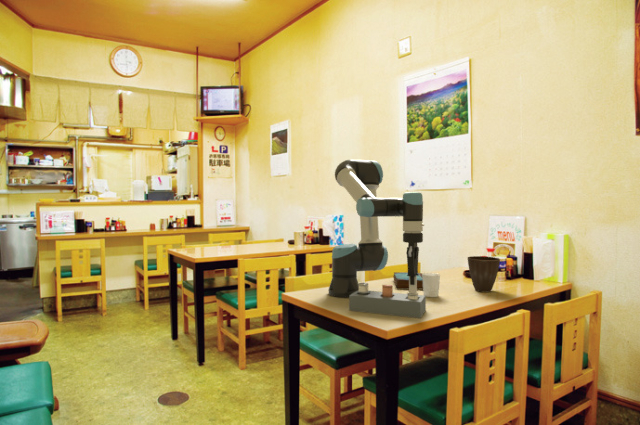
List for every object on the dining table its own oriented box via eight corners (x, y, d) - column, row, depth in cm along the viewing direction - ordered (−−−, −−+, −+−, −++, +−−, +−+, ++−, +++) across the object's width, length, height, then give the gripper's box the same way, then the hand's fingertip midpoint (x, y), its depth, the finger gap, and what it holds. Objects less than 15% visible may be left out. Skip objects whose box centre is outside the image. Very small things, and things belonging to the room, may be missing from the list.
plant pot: (504, 290, 198) (504, 257, 198) (493, 295, 187) (493, 261, 187) (474, 286, 208) (474, 255, 208) (462, 290, 197) (462, 258, 197)
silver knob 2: (406, 308, 155) (406, 293, 155) (408, 305, 159) (408, 291, 159) (416, 309, 153) (417, 294, 153) (418, 306, 157) (418, 292, 157)
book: (432, 290, 200) (432, 280, 200) (396, 289, 202) (396, 279, 202) (425, 281, 223) (425, 272, 223) (393, 281, 225) (393, 272, 225)
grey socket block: (349, 310, 160) (349, 295, 160) (358, 303, 171) (358, 289, 171) (420, 318, 149) (420, 302, 149) (425, 310, 160) (425, 295, 160)
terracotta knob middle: (381, 299, 159) (381, 286, 159) (383, 297, 163) (383, 284, 163) (391, 300, 157) (391, 286, 157) (393, 298, 161) (393, 285, 161)
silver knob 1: (357, 297, 163) (357, 284, 163) (360, 295, 167) (360, 282, 167) (366, 298, 161) (366, 284, 161) (369, 296, 165) (369, 283, 165)
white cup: (440, 298, 182) (440, 276, 182) (422, 297, 183) (422, 275, 183) (439, 294, 189) (439, 273, 189) (421, 293, 191) (421, 272, 191)
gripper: (419, 233, 148) (419, 297, 148) (425, 231, 160) (425, 290, 160) (399, 232, 151) (399, 295, 151) (406, 231, 163) (406, 288, 163)
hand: (412, 292), depth 156 cm, fingers closed
